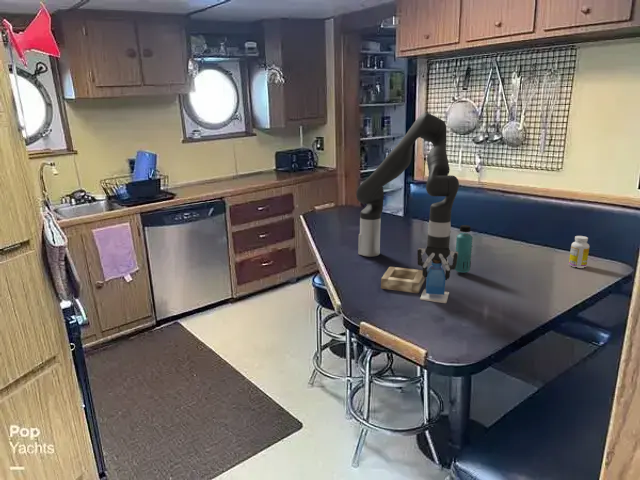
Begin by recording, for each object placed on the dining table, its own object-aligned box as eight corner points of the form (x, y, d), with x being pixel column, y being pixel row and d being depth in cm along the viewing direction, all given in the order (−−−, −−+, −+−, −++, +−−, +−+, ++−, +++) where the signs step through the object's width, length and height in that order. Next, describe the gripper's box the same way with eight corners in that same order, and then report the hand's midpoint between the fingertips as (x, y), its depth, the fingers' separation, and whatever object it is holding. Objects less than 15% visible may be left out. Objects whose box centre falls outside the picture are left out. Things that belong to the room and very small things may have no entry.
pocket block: (380, 288, 174) (381, 278, 173) (389, 275, 186) (389, 266, 185) (418, 293, 169) (419, 283, 168) (424, 280, 182) (425, 270, 180)
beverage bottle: (461, 277, 184) (465, 228, 179) (449, 272, 190) (453, 224, 184) (473, 274, 187) (477, 226, 182) (461, 269, 193) (465, 223, 187)
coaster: (420, 299, 164) (420, 298, 163) (424, 290, 172) (424, 288, 171) (446, 303, 160) (446, 301, 160) (449, 293, 168) (449, 292, 168)
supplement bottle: (585, 265, 197) (590, 236, 193) (586, 270, 191) (591, 240, 188) (567, 263, 200) (572, 234, 196) (568, 267, 194) (573, 238, 190)
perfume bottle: (444, 294, 162) (446, 262, 159) (426, 293, 163) (428, 261, 160) (443, 288, 168) (445, 256, 164) (425, 286, 169) (427, 255, 166)
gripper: (416, 234, 159) (413, 279, 163) (459, 238, 154) (455, 284, 158) (419, 228, 165) (417, 272, 170) (461, 232, 160) (457, 277, 165)
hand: (435, 278), depth 164 cm, fingers closed on perfume bottle, 6 cm apart
